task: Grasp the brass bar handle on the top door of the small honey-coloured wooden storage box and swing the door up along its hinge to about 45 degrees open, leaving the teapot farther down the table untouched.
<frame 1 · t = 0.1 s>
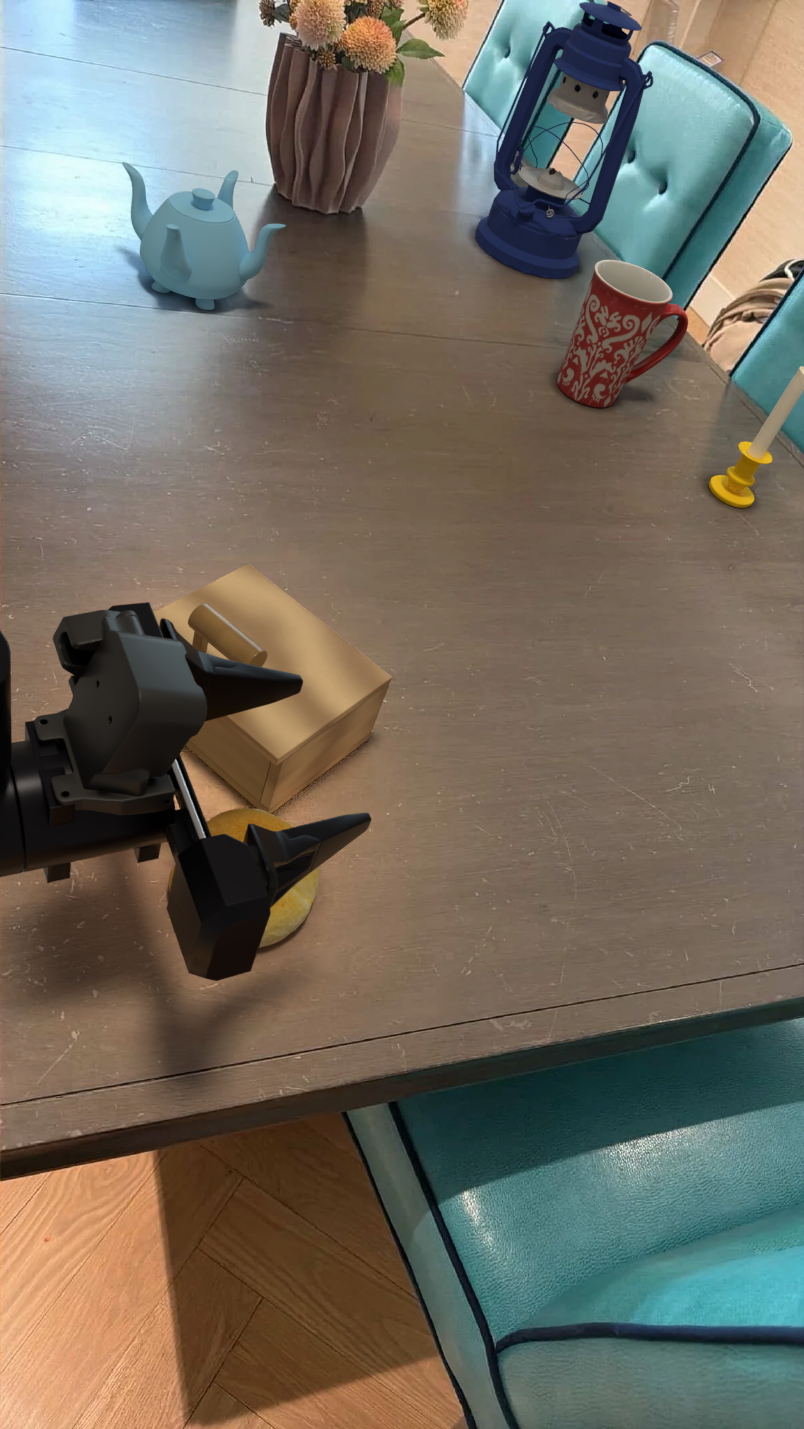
hand: (333, 749, 51), 14 cm above the table, tool horizontal, fingers open, 9 cm apart
storage box: (249, 716, 70), on the table
candle: (729, 494, 110), on the table
mug: (597, 395, 117), on the table
lantern: (525, 252, 140), on the table
bread roll: (242, 888, 61), on the table
box door: (266, 632, 63), point 8 cm above the table, hinge at 0.0°
teapot: (191, 290, 107), on the table
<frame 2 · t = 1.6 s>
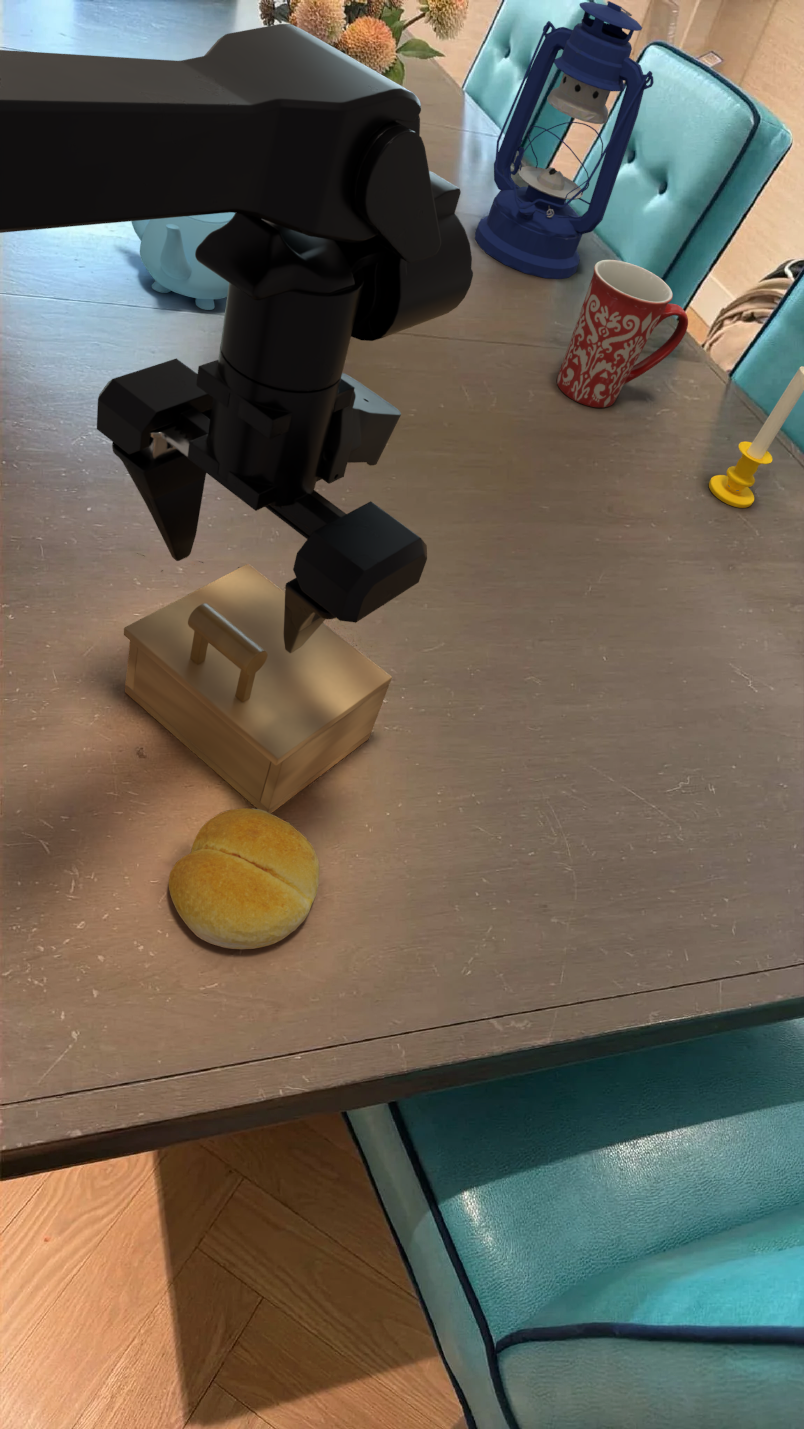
hand: (236, 601, 57), 13 cm above the table, tool pointing down, fingers open, 9 cm apart
nothing on the table moved.
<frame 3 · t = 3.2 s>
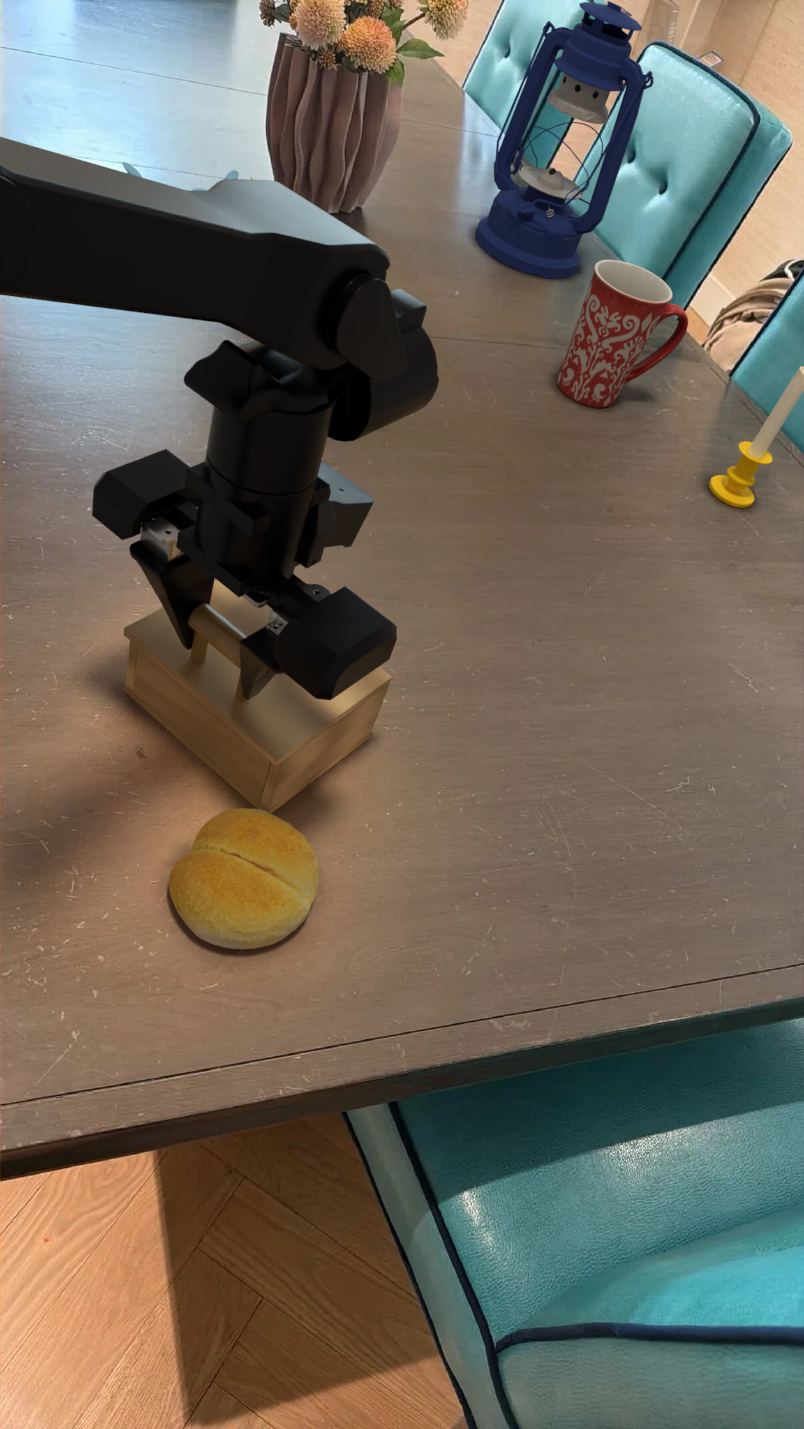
hand: (221, 670, 62), 7 cm above the table, tool pointing down, fingers closed on box door, 5 cm apart
box door: (266, 632, 63), point 8 cm above the table, hinge at 0.0°, touching gripper
everything else where it was.
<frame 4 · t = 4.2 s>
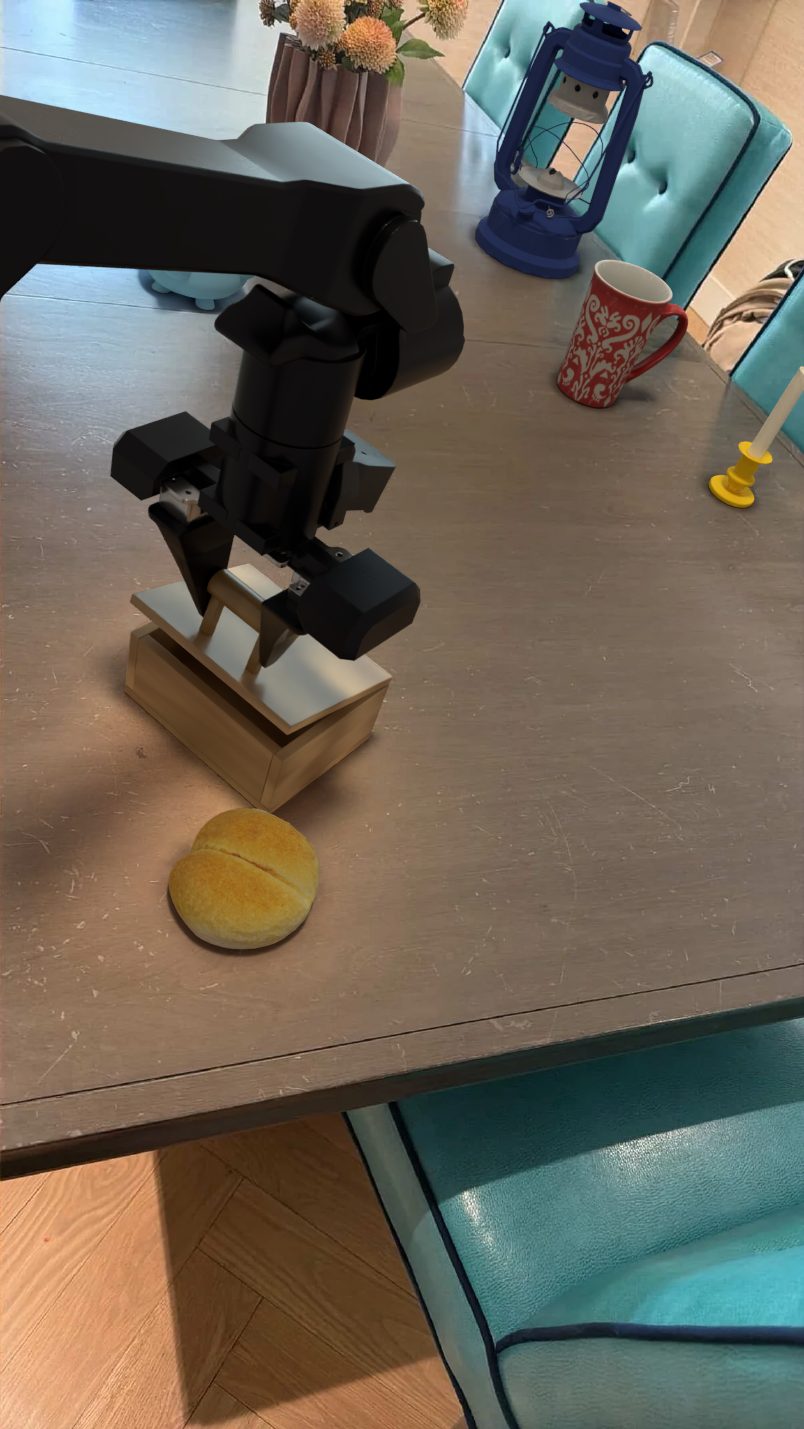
hand: (237, 638, 61), 10 cm above the table, tool pointing down, fingers closed on box door, 5 cm apart
box door: (277, 613, 63), point 10 cm above the table, hinge at 14.0°, touching gripper
everything else where it was.
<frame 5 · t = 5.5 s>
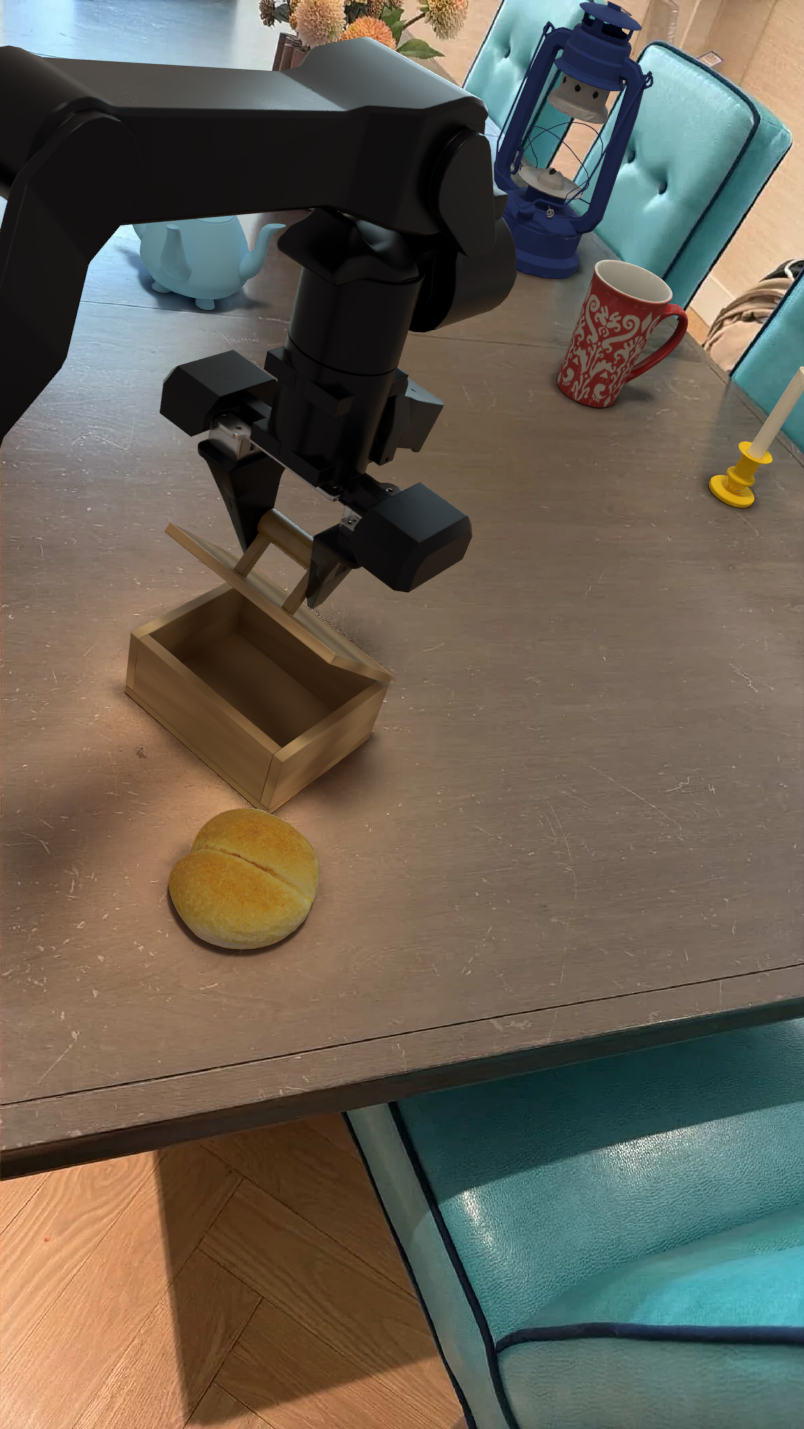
hand: (283, 580, 61), 13 cm above the table, tool pointing down, fingers closed on box door, 5 cm apart
box door: (305, 579, 63), point 12 cm above the table, hinge at 40.6°, touching gripper
everything else where it was.
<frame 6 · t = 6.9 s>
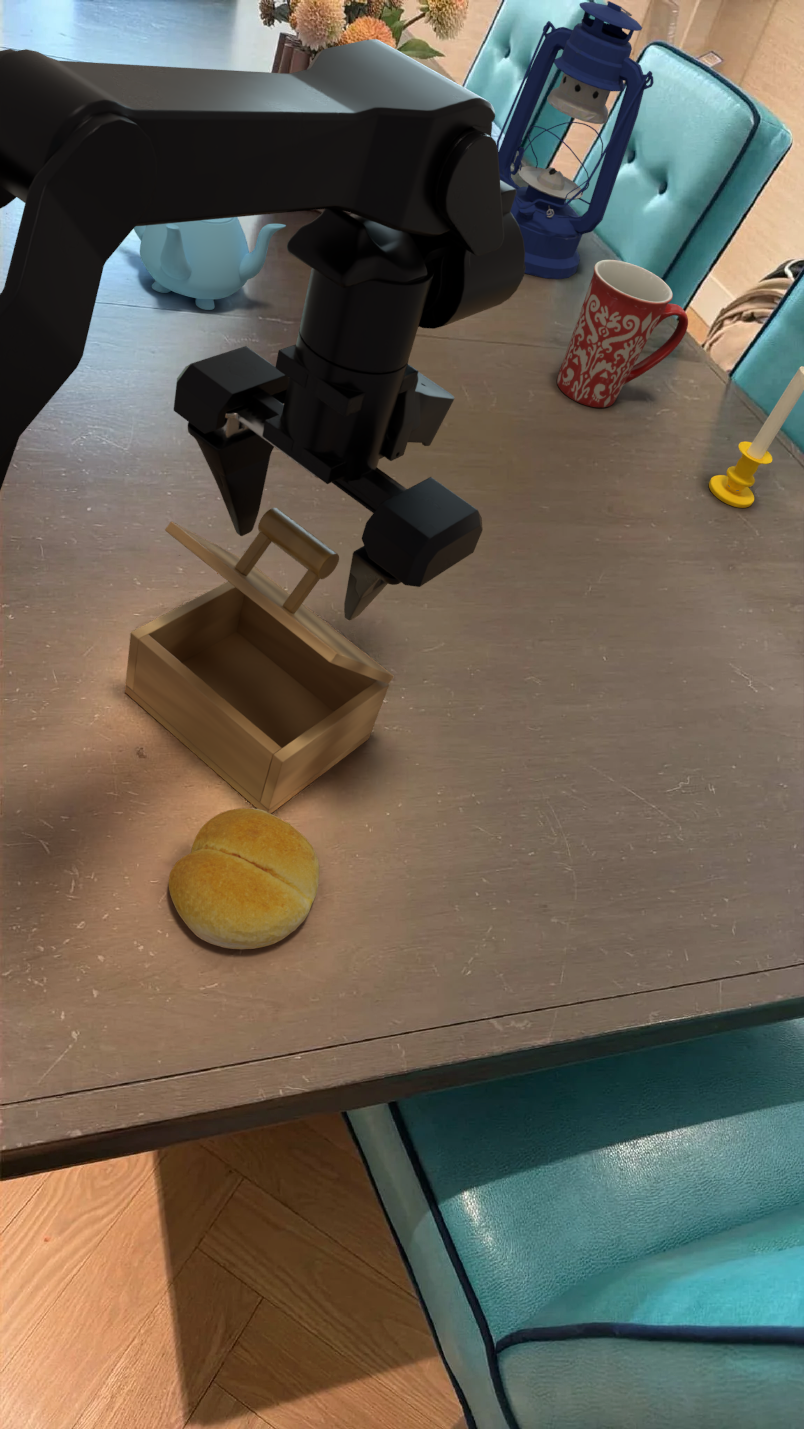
hand: (297, 573, 62), 13 cm above the table, tool pointing down, fingers open, 9 cm apart
box door: (306, 579, 63), point 12 cm above the table, hinge at 41.1°
everything else where it was.
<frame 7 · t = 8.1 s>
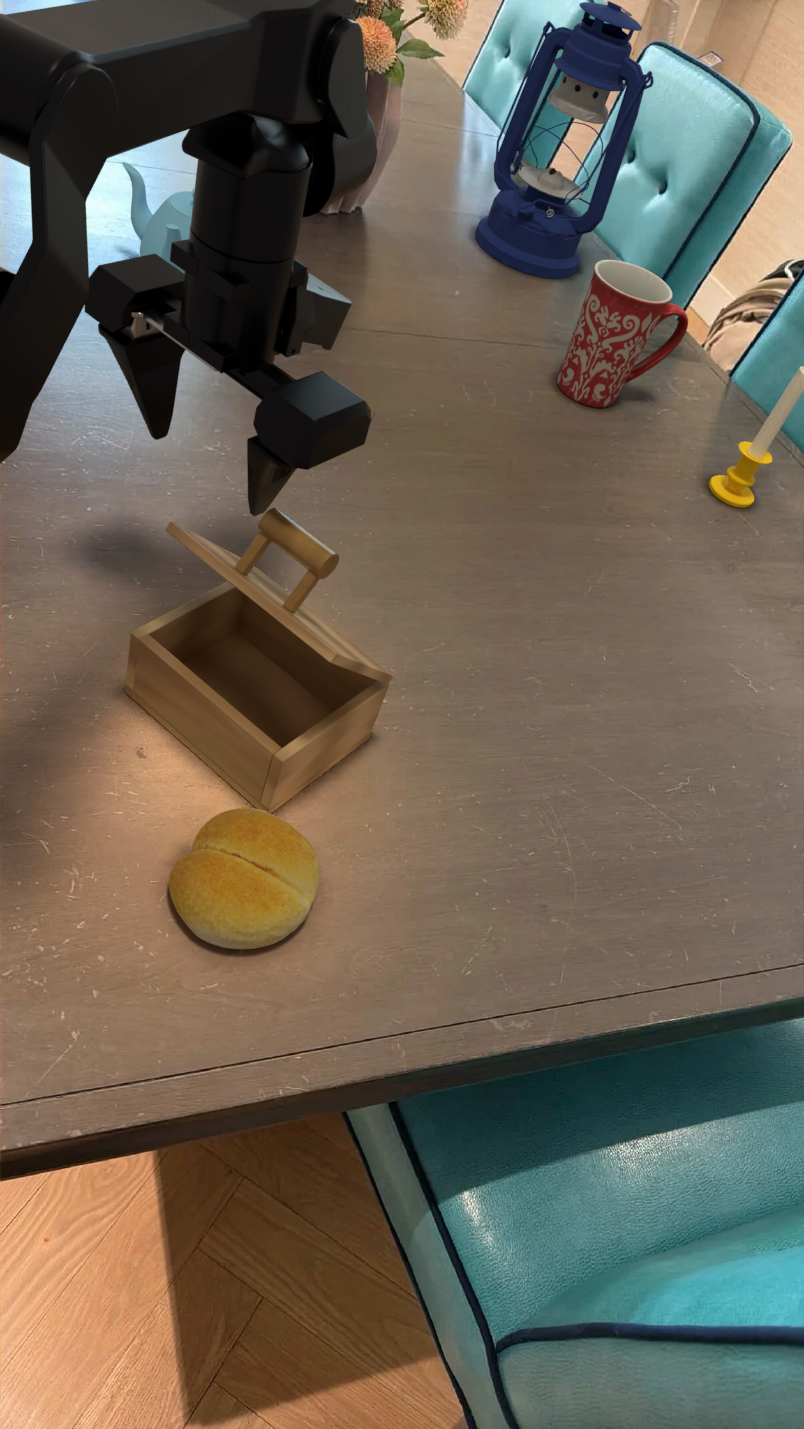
hand: (207, 474, 65), 13 cm above the table, tool pointing down, fingers open, 9 cm apart
nothing on the table moved.
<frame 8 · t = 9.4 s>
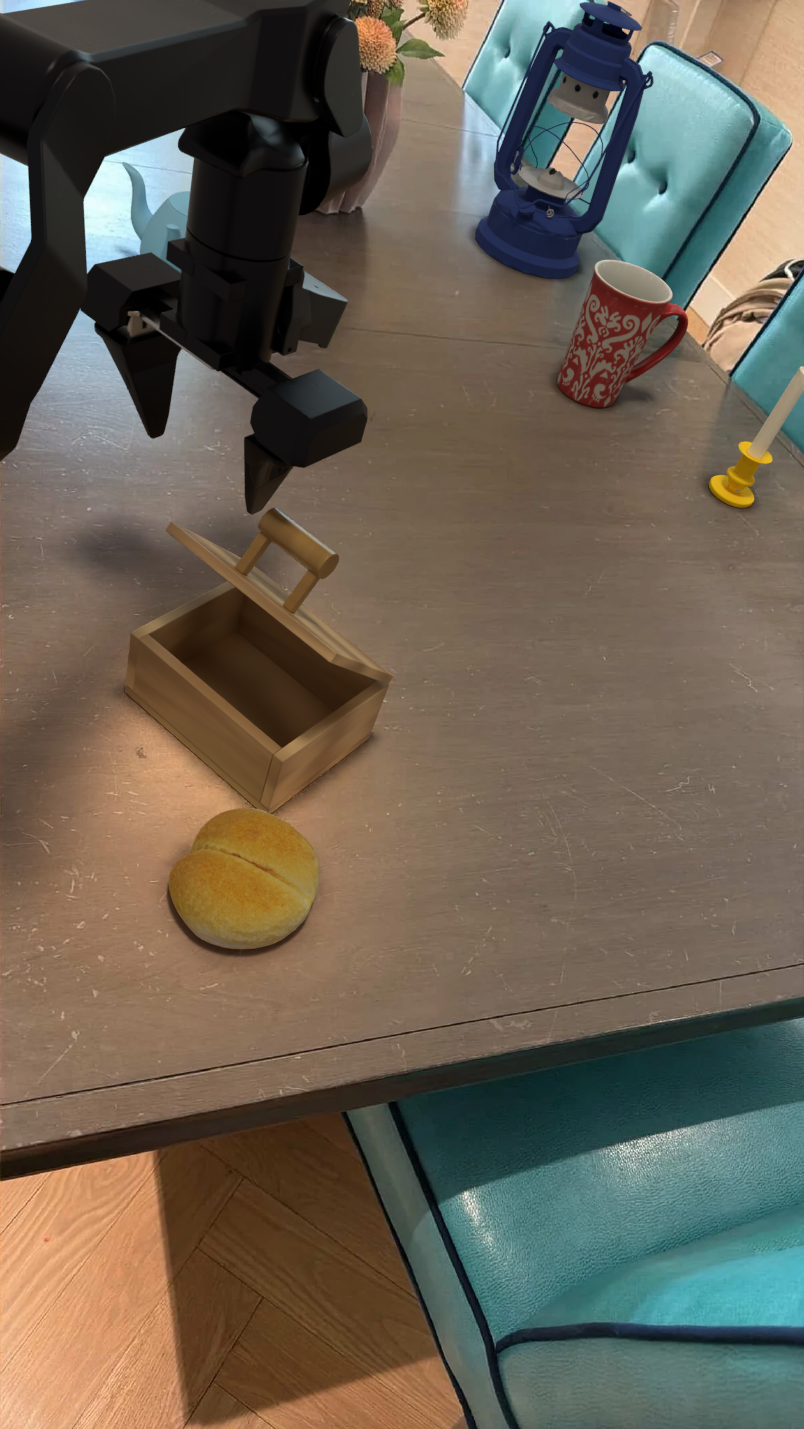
hand: (204, 473, 65), 13 cm above the table, tool pointing down, fingers open, 9 cm apart
nothing on the table moved.
at the end: box door at +41° (first picture: +0°); teapot moved 0.2 cm from its start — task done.
